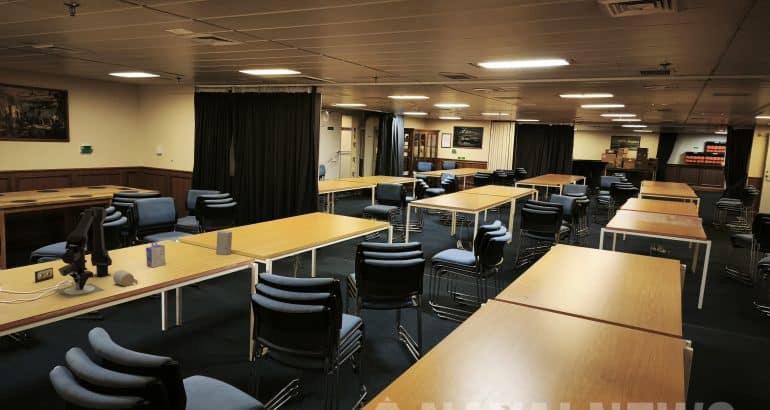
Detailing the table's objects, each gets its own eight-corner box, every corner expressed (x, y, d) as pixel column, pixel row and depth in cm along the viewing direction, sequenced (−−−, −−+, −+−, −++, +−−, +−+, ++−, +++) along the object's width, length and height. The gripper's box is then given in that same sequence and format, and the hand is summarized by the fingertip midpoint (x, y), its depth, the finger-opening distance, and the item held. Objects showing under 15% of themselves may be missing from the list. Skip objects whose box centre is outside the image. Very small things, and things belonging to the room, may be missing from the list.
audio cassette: (51, 278, 256) (51, 267, 255) (53, 278, 255) (53, 267, 255) (34, 282, 247) (34, 271, 246) (36, 283, 246) (36, 272, 246)
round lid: (59, 290, 236) (59, 282, 235) (87, 284, 246) (87, 277, 246) (70, 296, 228) (70, 288, 228) (99, 290, 239) (99, 282, 238)
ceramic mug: (121, 288, 245) (121, 274, 244) (112, 285, 249) (112, 271, 248) (141, 283, 254) (141, 270, 253) (132, 280, 258) (132, 267, 257)
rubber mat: (53, 291, 235) (53, 290, 235) (90, 283, 249) (90, 283, 249) (67, 299, 226) (67, 298, 226) (105, 291, 239) (105, 290, 239)
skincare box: (215, 254, 322) (215, 231, 320) (221, 251, 329) (221, 230, 327) (227, 255, 321) (227, 232, 319) (232, 253, 328) (232, 231, 326)
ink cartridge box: (159, 263, 294) (159, 240, 292) (165, 264, 292) (165, 241, 290) (145, 266, 285) (145, 243, 283) (152, 268, 283) (151, 244, 281)
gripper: (52, 257, 234) (54, 287, 236) (68, 265, 223) (69, 296, 225) (77, 254, 243) (78, 283, 245) (93, 260, 232) (94, 291, 234)
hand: (79, 288), depth 237 cm, fingers closed on round lid, 4 cm apart
